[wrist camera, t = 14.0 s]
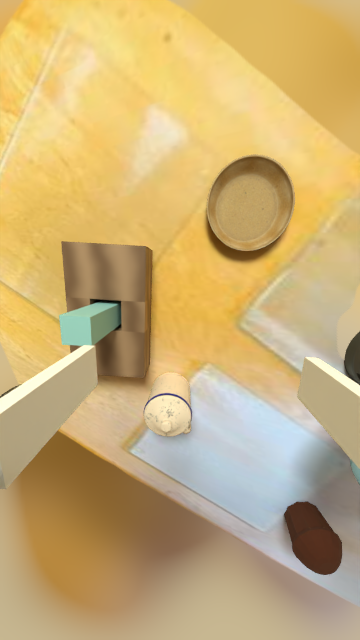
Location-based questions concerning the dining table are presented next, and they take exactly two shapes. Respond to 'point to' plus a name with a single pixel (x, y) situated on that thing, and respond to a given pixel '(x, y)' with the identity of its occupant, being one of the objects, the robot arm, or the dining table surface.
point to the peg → (90, 323)
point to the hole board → (117, 285)
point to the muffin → (313, 538)
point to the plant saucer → (250, 202)
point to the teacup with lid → (169, 405)
